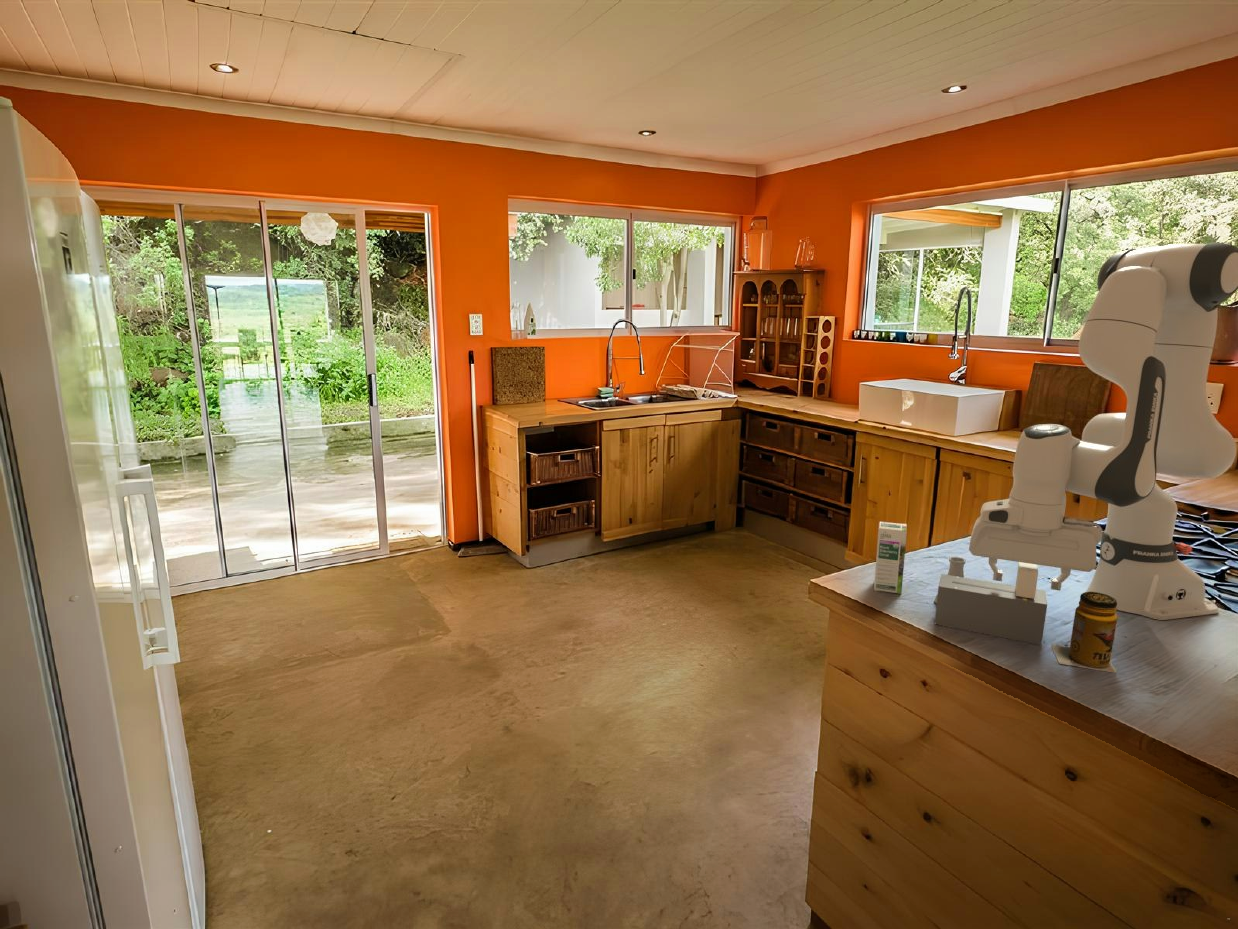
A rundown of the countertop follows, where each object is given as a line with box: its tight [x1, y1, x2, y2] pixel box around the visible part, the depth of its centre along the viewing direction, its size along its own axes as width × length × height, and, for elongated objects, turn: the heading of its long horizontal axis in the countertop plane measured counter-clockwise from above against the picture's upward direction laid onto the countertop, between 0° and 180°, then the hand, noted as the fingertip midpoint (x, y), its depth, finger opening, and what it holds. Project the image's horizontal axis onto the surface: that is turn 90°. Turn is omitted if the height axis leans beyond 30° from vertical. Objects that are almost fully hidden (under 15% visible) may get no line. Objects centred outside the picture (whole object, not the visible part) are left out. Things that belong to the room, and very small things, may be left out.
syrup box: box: [873, 521, 908, 595], centre depth 151 cm, size 6×6×14 cm
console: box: [934, 573, 1048, 646], centre depth 133 cm, size 18×7×8 cm, turn 61°
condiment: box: [1051, 591, 1118, 673], centre depth 120 cm, size 7×8×12 cm
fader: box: [1015, 562, 1039, 599], centre depth 129 cm, size 3×5×5 cm, turn 151°
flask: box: [933, 556, 967, 605], centre depth 143 cm, size 7×7×10 cm
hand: (1025, 584), depth 129 cm, fingers open, 8 cm apart
